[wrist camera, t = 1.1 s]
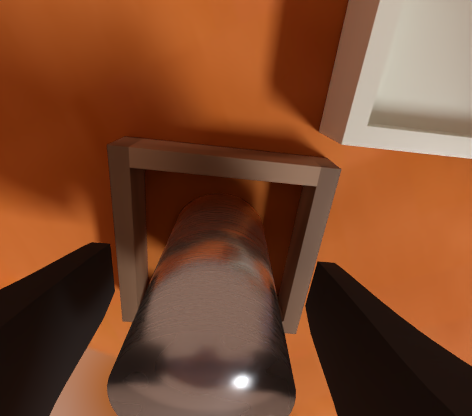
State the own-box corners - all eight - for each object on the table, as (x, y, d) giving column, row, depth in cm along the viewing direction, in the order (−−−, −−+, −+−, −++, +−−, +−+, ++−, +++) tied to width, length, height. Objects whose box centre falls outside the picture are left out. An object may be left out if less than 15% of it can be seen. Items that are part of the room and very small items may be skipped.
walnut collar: (326, 157, 11) (341, 169, 9) (289, 308, 14) (295, 333, 12) (124, 136, 10) (106, 144, 9) (134, 295, 14) (122, 321, 12)
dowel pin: (270, 198, 11) (314, 340, 5) (257, 274, 13) (278, 453, 7) (175, 188, 11) (97, 324, 5) (174, 267, 13) (115, 445, 7)
